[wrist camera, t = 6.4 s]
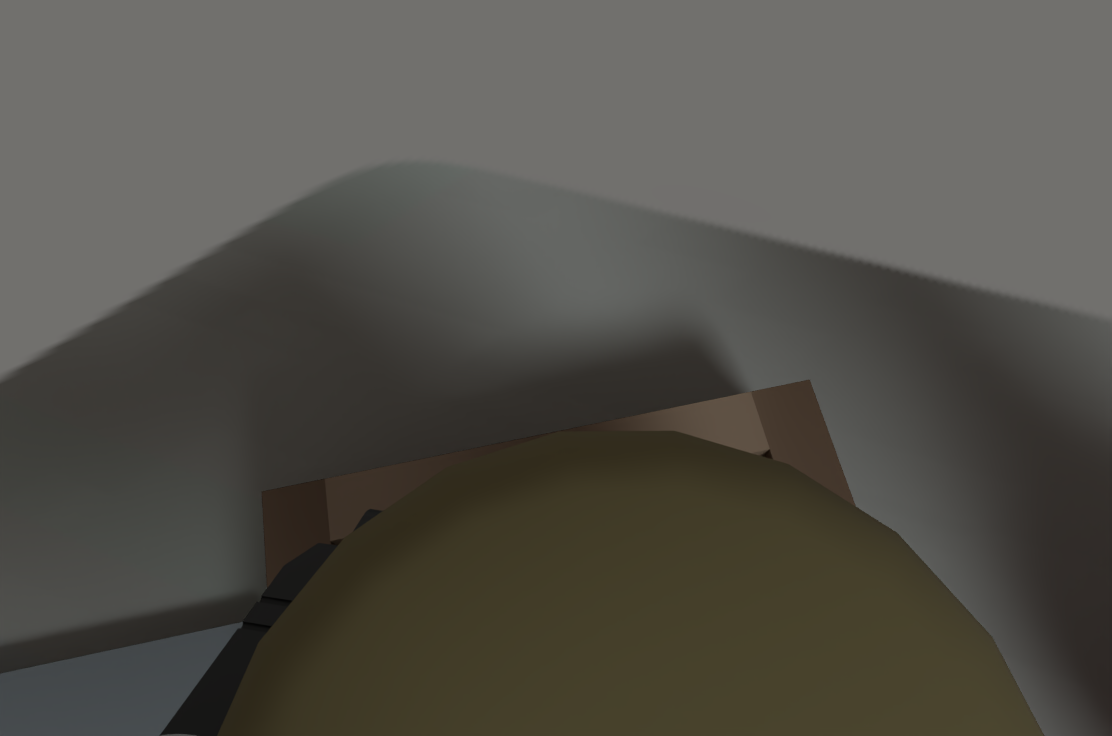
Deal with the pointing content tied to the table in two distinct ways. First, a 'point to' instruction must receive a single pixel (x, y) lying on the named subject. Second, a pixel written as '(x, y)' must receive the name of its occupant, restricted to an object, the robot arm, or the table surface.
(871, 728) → the cork
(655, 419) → the walnut collar
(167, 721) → the rubber mat
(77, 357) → the table surface
